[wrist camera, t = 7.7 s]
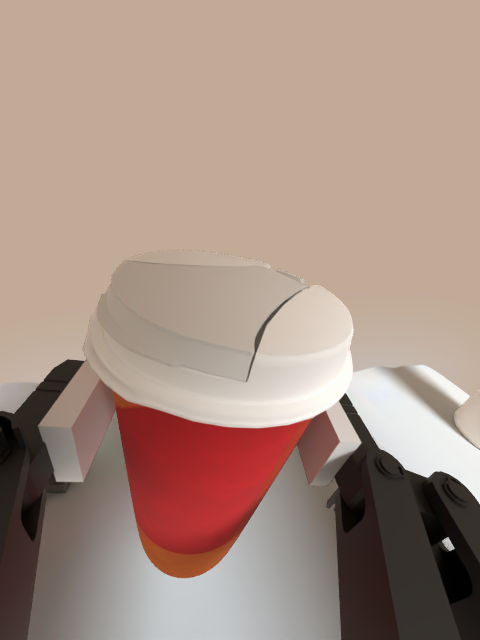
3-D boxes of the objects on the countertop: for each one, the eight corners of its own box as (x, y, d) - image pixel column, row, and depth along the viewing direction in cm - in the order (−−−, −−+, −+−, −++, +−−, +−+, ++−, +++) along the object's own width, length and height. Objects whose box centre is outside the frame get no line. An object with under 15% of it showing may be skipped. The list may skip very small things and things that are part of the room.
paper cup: (202, 426, 18) (235, 244, 12) (281, 515, 14) (403, 312, 8) (89, 505, 13) (32, 246, 6) (165, 687, 9) (236, 498, 2)
